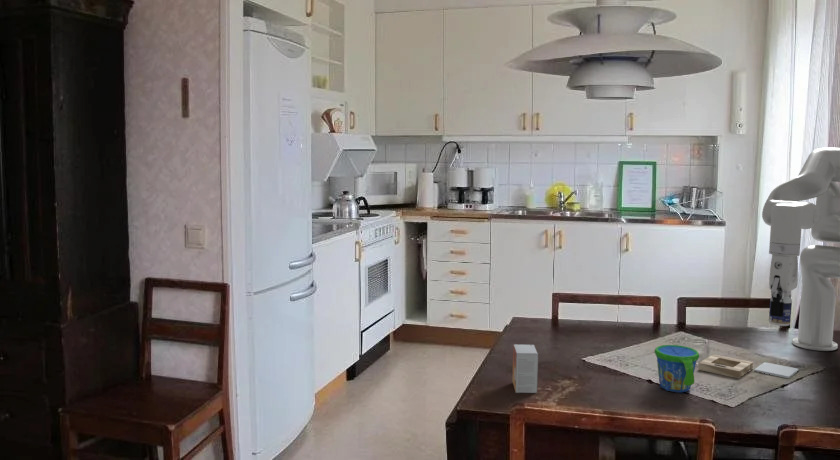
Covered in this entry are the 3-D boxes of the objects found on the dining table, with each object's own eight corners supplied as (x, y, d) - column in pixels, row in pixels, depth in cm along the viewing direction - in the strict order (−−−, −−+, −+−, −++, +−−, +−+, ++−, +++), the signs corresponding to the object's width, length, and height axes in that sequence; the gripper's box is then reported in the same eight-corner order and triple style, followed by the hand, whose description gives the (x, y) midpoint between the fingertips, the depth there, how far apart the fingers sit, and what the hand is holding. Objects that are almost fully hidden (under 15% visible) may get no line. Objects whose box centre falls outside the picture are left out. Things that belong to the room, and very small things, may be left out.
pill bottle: (771, 325, 200) (774, 290, 199) (766, 320, 206) (768, 286, 204) (792, 327, 199) (795, 291, 198) (787, 322, 205) (789, 287, 203)
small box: (512, 382, 194) (513, 343, 193) (533, 382, 194) (534, 344, 192) (515, 393, 186) (515, 352, 185) (537, 393, 186) (538, 353, 184)
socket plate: (713, 360, 213) (713, 353, 213) (752, 369, 206) (753, 361, 206) (698, 369, 205) (698, 362, 205) (739, 378, 198) (739, 370, 198)
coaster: (764, 364, 210) (764, 362, 210) (798, 370, 204) (798, 368, 204) (754, 371, 204) (754, 369, 204) (788, 378, 198) (789, 376, 198)
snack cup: (706, 399, 182) (709, 359, 181) (664, 399, 182) (666, 359, 181) (684, 378, 198) (686, 342, 196) (645, 378, 198) (647, 341, 196)
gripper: (790, 254, 191) (785, 322, 193) (808, 247, 204) (803, 310, 206) (759, 251, 196) (755, 317, 198) (779, 244, 209) (775, 306, 211)
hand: (780, 313), depth 202 cm, fingers closed on pill bottle, 5 cm apart
